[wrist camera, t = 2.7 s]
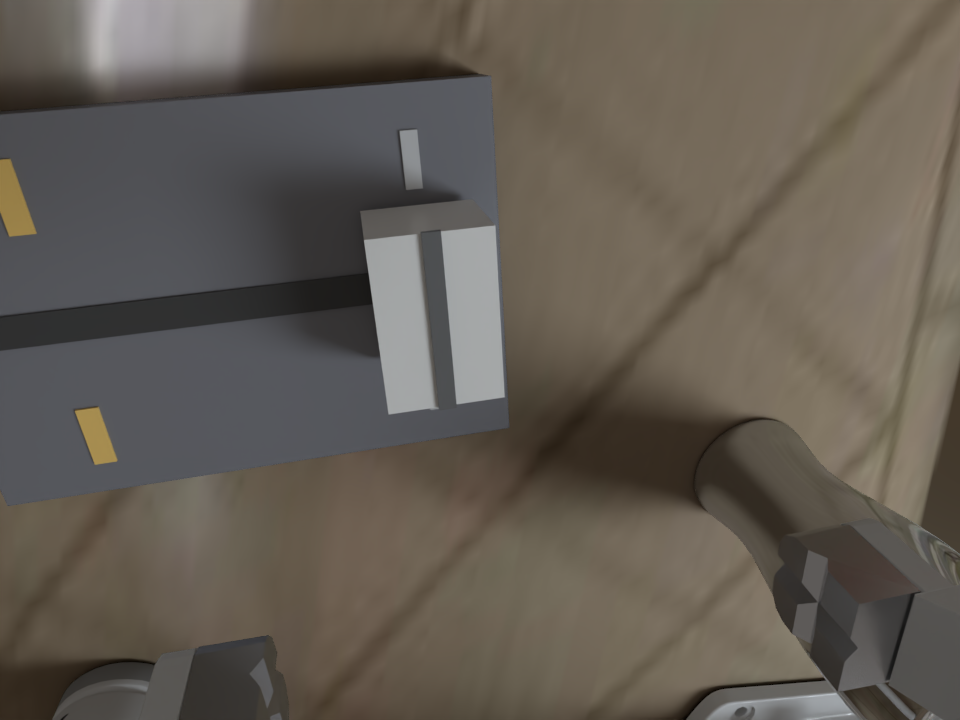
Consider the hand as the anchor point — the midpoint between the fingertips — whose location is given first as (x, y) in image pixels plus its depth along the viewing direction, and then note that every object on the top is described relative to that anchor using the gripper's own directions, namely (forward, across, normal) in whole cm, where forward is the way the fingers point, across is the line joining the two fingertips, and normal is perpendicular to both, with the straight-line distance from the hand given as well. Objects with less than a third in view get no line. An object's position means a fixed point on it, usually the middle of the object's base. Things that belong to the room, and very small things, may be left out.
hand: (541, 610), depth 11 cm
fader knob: (+16, 0, 0) cm, 16 cm away
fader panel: (+19, -7, 0) cm, 20 cm away
